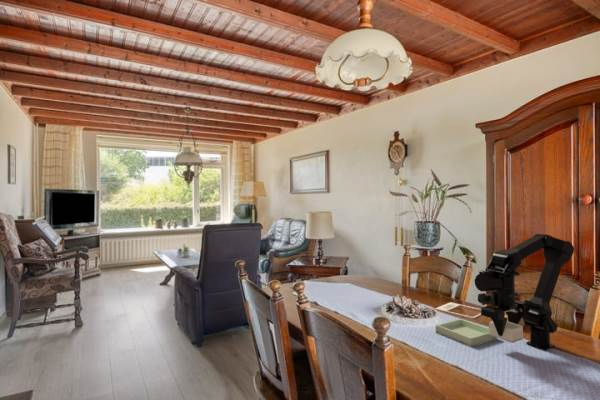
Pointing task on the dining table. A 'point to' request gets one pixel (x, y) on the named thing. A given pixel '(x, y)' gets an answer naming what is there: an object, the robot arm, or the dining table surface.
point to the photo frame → (451, 306)
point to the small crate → (508, 332)
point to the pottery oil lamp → (519, 322)
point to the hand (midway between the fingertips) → (505, 334)
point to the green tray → (465, 332)
